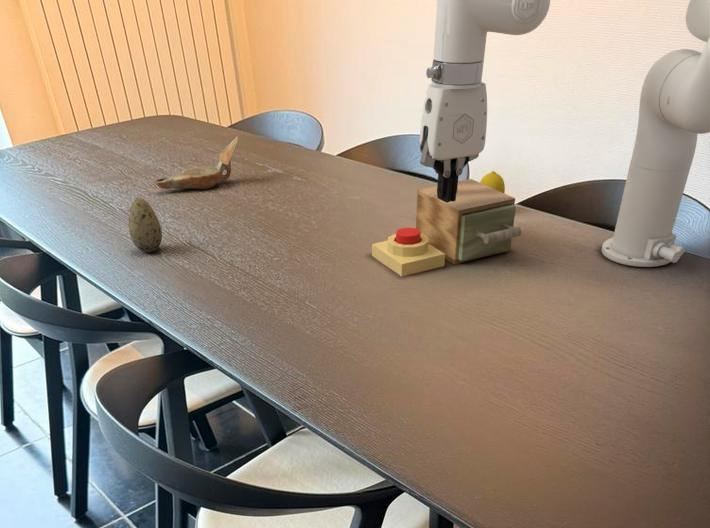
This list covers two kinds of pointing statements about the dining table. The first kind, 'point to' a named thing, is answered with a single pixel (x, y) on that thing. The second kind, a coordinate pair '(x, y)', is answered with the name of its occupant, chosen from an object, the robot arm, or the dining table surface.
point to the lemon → (494, 181)
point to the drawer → (487, 232)
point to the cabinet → (454, 214)
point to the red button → (408, 236)
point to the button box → (408, 256)
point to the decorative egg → (144, 226)
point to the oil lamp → (201, 173)
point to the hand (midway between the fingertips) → (446, 199)
